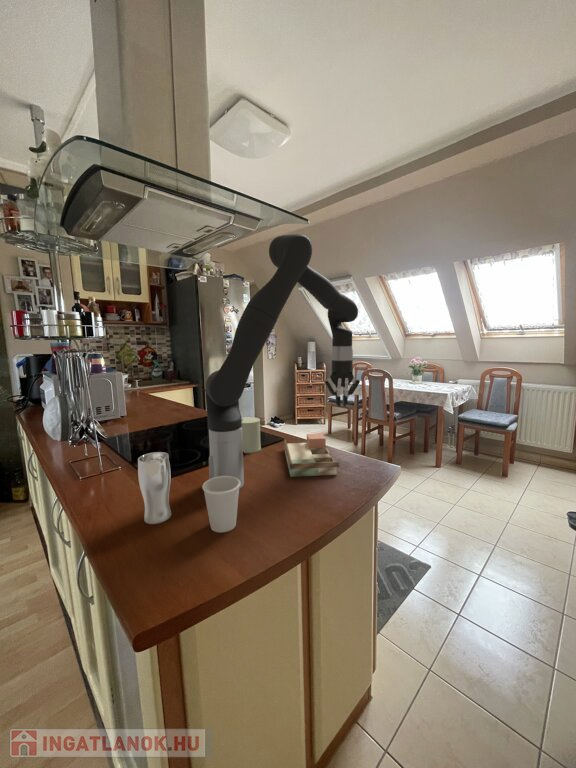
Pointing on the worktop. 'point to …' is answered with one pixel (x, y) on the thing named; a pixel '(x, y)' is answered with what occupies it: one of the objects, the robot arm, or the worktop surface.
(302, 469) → the board
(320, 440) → the salmon pink square block
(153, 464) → the beer glass
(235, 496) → the dixie cup
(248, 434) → the can
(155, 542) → the worktop surface
